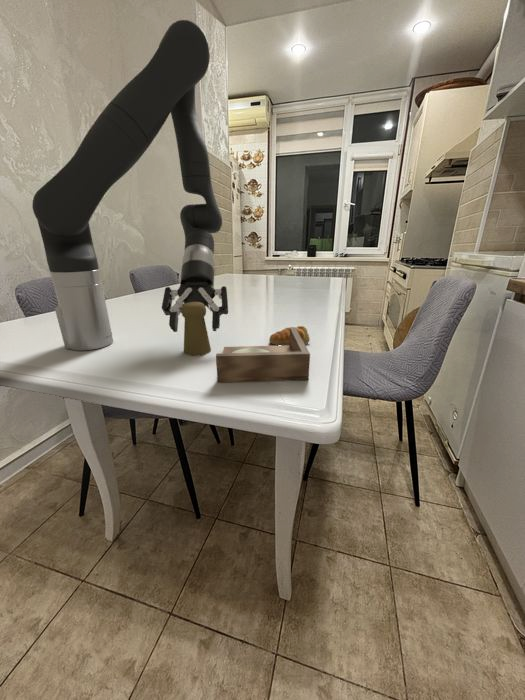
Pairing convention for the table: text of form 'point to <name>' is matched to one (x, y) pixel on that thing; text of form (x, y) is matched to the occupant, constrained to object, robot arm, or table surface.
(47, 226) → the robot arm
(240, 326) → the table surface
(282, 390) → the table surface
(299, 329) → the pastry
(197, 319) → the cork
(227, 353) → the corner tray
